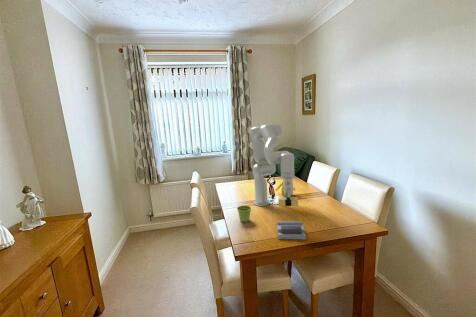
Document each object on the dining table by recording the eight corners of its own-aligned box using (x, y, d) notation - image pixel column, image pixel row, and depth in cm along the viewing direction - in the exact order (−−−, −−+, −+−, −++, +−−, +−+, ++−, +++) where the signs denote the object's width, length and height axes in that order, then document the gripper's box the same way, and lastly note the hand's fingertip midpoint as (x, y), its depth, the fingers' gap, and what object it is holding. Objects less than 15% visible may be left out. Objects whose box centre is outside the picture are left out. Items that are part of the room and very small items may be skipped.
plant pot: (243, 216, 159) (242, 204, 157) (254, 219, 153) (254, 207, 152) (234, 221, 152) (234, 208, 150) (246, 224, 146) (245, 212, 144)
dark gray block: (300, 232, 131) (300, 226, 130) (301, 235, 127) (301, 229, 127) (281, 232, 132) (280, 226, 132) (281, 235, 129) (281, 229, 128)
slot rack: (277, 225, 143) (277, 221, 143) (302, 225, 141) (302, 221, 141) (278, 238, 128) (278, 234, 127) (306, 239, 126) (306, 235, 125)
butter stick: (297, 203, 137) (297, 197, 136) (298, 205, 133) (298, 199, 133) (278, 203, 139) (278, 197, 138) (279, 206, 135) (278, 199, 134)
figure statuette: (295, 192, 200) (295, 167, 196) (297, 195, 193) (296, 170, 189) (274, 193, 201) (274, 168, 197) (275, 196, 194) (275, 170, 190)
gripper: (295, 178, 124) (296, 210, 127) (292, 170, 140) (293, 199, 143) (281, 178, 125) (282, 210, 129) (280, 171, 141) (281, 199, 145)
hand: (288, 204), depth 136 cm, fingers closed on butter stick, 3 cm apart
